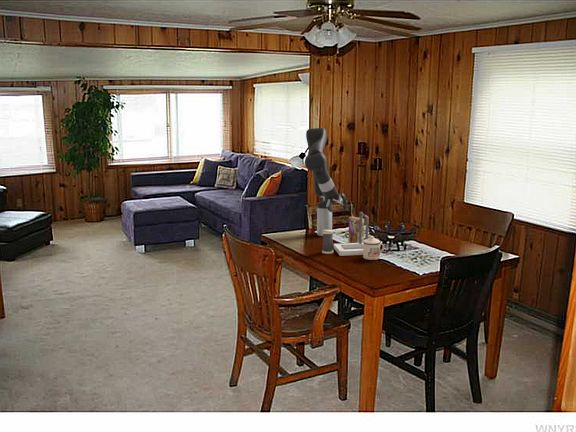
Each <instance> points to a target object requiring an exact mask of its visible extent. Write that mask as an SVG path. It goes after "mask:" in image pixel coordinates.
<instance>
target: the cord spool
mask: <svg viewBox="0 0 576 432" xmlns="http://www.w3.org/2000/svg"><path fill="white" fill-rule="evenodd" d="M322 233H323V236H322V250H321V253H322V254H326V255H330V254H331V255H332V254H334V250H335V249H334V243H333V241H334V240H333V239H334V238H333V237H334V236H333V235H334V233H335V230H333V229H332V230H322Z"/></svg>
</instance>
